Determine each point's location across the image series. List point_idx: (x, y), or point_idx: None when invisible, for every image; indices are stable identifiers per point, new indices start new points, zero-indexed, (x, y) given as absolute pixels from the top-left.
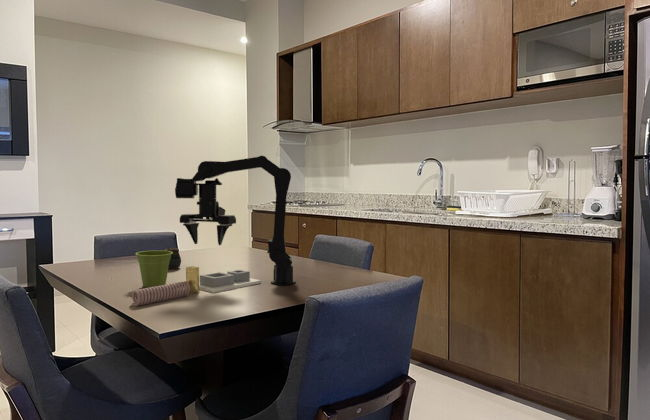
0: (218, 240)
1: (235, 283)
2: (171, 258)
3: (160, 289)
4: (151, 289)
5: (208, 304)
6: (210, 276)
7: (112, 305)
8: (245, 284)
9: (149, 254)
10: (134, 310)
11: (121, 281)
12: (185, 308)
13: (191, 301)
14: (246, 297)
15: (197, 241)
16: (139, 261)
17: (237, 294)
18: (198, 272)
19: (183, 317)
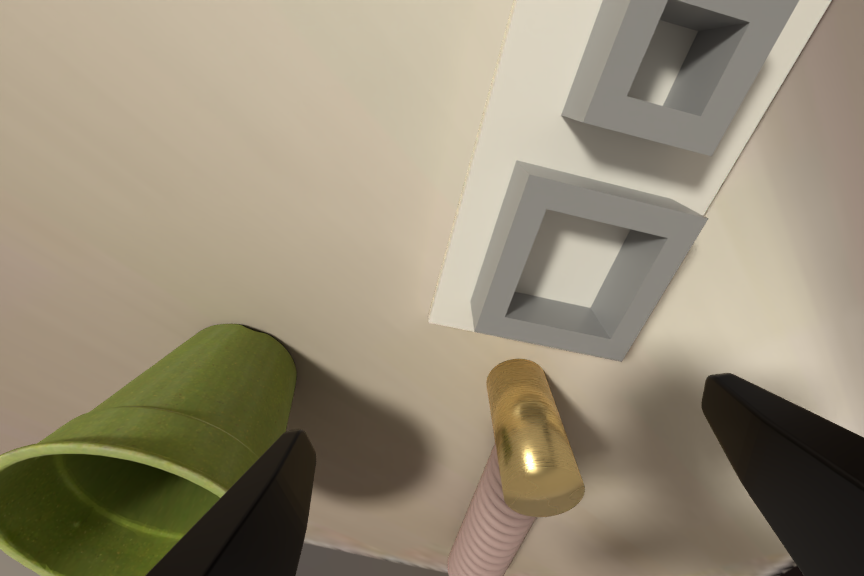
0: (768, 498)
1: (674, 182)
2: None
3: (515, 551)
4: (501, 573)
5: (692, 472)
6: (565, 330)
7: (410, 562)
8: (741, 141)
9: (19, 481)
10: (510, 568)
11: (16, 367)
12: (639, 520)
13: (606, 469)
14: (819, 349)
15: (289, 450)
16: (169, 545)
17: (752, 325)
18: (574, 458)
19: (685, 563)
